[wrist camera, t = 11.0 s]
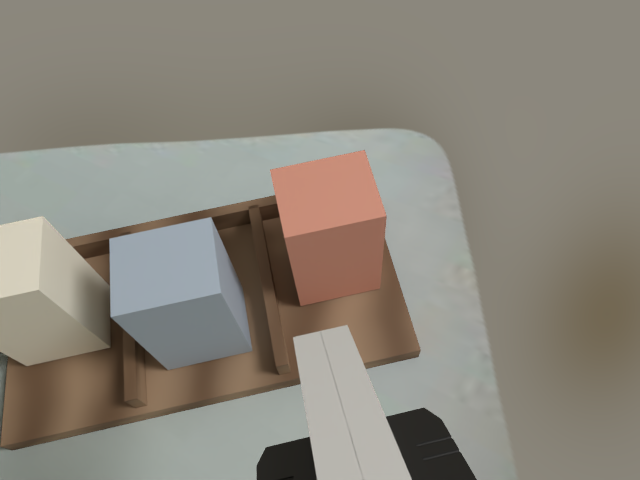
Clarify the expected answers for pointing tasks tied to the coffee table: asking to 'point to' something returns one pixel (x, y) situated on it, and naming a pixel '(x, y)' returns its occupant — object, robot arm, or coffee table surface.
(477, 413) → the coffee table surface
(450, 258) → the coffee table surface
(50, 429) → the wooden compartment tray
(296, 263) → the salmon pink block
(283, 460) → the robot arm
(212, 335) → the light blue block
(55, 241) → the cream rectangular block
